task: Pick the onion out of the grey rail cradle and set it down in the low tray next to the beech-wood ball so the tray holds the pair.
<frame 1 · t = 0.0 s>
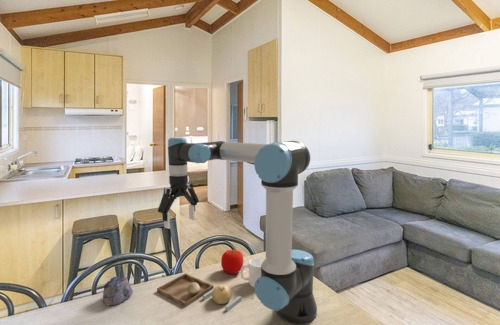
hand: (180, 223, 127), 28 cm above the table, fingers open, 13 cm apart
cradle: (222, 300, 119), on the table
ball: (193, 294, 123), resting on tray
rock: (117, 299, 121), on the table
cup: (254, 284, 132), on the table
tomato: (232, 272, 142), on the table
tray: (185, 291, 126), on the table
onion: (222, 301, 119), on the table
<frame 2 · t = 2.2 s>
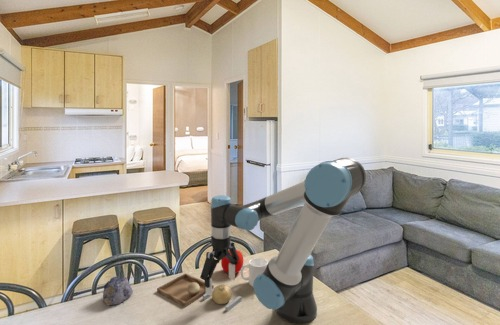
hand: (220, 286, 119), 6 cm above the table, fingers open, 13 cm apart
nothing on the table moved.
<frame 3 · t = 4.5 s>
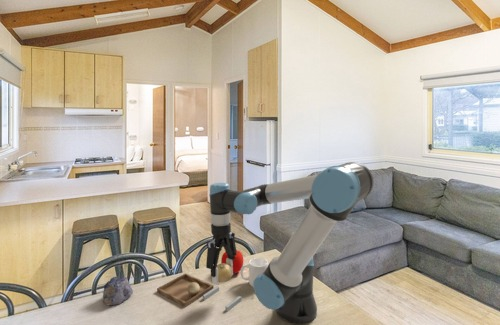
hand: (222, 278, 117), 10 cm above the table, fingers closed on onion, 8 cm apart
onion: (222, 280, 118), point 9 cm above the table, touching gripper
everything else where it was.
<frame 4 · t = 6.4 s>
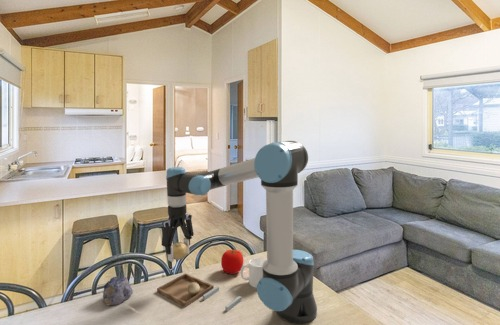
hand: (178, 256, 126), 14 cm above the table, fingers closed on onion, 8 cm apart
onion: (178, 257, 126), point 14 cm above the table, touching gripper
everything else where it was.
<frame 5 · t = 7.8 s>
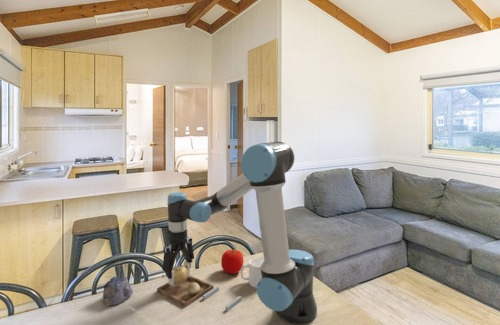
hand: (179, 280, 128), 4 cm above the table, fingers closed on onion, 8 cm apart
onion: (179, 281, 128), point 3 cm above the table, touching gripper
everything else where it was.
when the fingers open (2 cm above the table, at t = 8.6 s): onion stays where it is, resting on tray.
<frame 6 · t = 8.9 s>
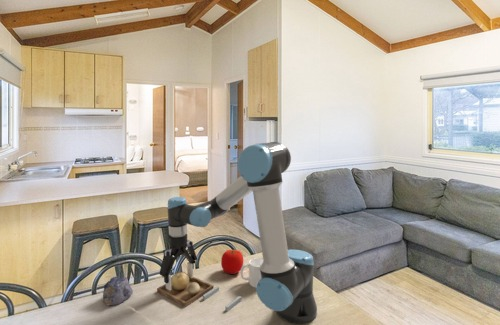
hand: (179, 282, 128), 3 cm above the table, fingers open, 11 cm apart
onion: (180, 287, 128), resting on tray
everything else where it was.
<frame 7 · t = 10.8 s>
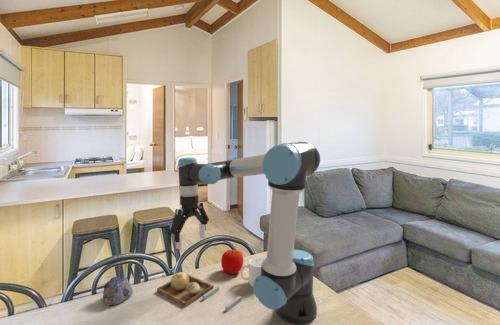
hand: (191, 243, 127), 20 cm above the table, fingers open, 13 cm apart
nothing on the table moved.
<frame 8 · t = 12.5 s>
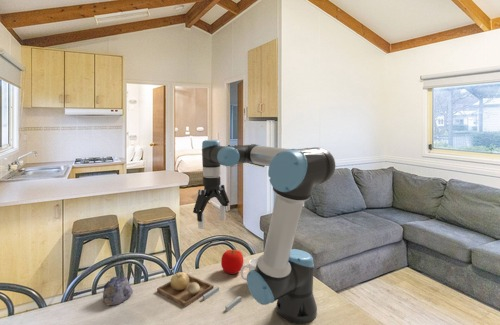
hand: (212, 224, 130), 27 cm above the table, fingers open, 13 cm apart
nothing on the table moved.
at the end: onion inside the target area on the tray (3.6 cm from its centre), point 0.1 cm above the tray's base; ball inside the target area on the tray (5.0 cm from its centre), point 0.4 cm above the tray's base; the gripper is holding nothing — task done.
